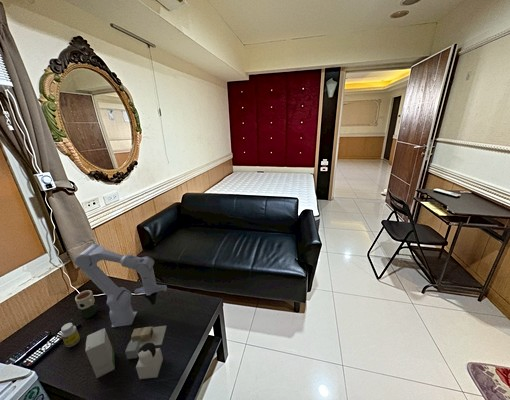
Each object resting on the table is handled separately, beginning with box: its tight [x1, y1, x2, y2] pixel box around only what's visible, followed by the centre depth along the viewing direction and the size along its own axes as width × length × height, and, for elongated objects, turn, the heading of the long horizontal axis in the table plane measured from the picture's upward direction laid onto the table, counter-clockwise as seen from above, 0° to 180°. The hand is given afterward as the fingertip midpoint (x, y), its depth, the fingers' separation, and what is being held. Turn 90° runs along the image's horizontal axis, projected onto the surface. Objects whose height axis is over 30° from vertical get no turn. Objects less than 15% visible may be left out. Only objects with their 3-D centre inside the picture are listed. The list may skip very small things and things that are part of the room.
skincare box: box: [85, 327, 116, 379], centre depth 87 cm, size 8×7×16 cm
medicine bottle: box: [135, 343, 164, 380], centre depth 86 cm, size 7×7×12 cm
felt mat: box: [129, 325, 167, 348], centre depth 101 cm, size 15×10×1 cm, turn 99°
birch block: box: [130, 325, 153, 342], centre depth 100 cm, size 4×4×8 cm
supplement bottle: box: [60, 322, 81, 348], centre depth 98 cm, size 5×5×10 cm
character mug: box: [74, 289, 98, 319], centre depth 112 cm, size 11×7×13 cm, turn 70°
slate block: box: [124, 341, 140, 360], centre depth 93 cm, size 4×4×5 cm
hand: (153, 302), depth 107 cm, fingers closed
